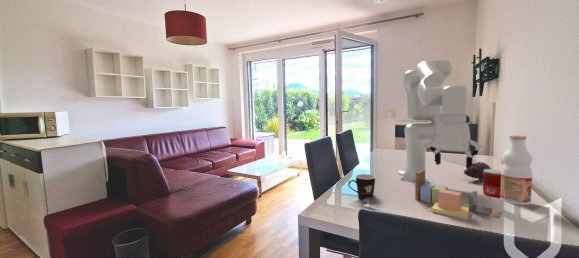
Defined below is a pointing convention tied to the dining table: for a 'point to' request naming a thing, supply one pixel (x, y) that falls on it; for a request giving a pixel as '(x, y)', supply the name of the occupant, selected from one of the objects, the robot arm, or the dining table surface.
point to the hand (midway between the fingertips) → (452, 166)
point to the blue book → (426, 192)
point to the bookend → (474, 207)
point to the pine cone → (476, 170)
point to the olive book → (437, 192)
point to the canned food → (492, 182)
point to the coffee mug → (364, 185)
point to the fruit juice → (516, 173)
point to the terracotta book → (449, 200)
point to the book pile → (451, 212)
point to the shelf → (420, 181)
